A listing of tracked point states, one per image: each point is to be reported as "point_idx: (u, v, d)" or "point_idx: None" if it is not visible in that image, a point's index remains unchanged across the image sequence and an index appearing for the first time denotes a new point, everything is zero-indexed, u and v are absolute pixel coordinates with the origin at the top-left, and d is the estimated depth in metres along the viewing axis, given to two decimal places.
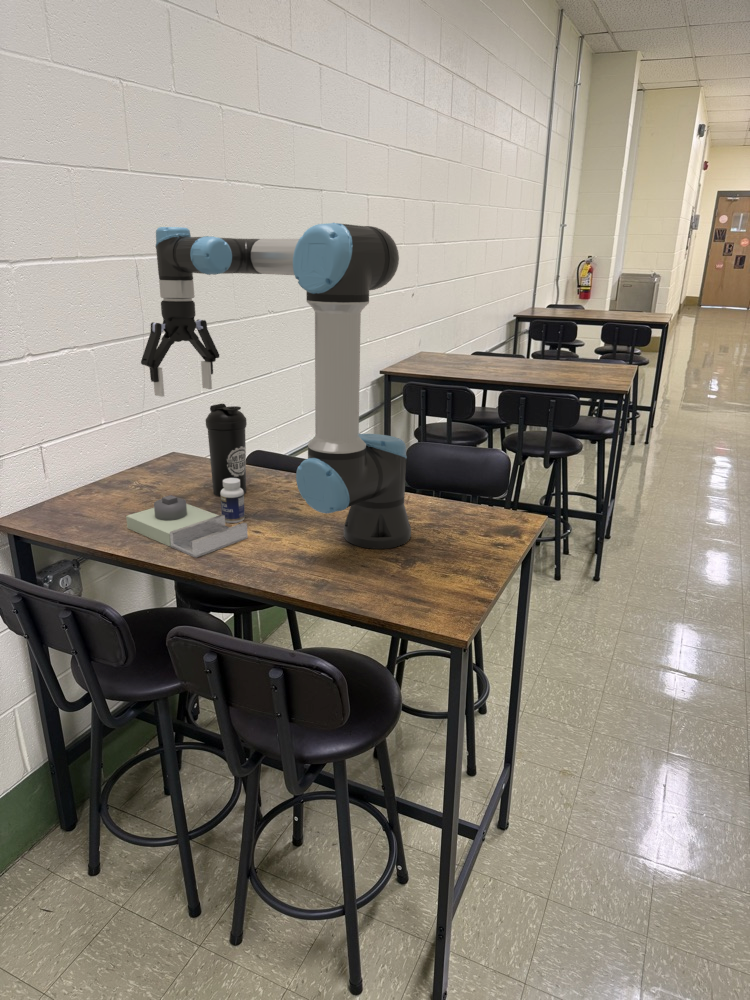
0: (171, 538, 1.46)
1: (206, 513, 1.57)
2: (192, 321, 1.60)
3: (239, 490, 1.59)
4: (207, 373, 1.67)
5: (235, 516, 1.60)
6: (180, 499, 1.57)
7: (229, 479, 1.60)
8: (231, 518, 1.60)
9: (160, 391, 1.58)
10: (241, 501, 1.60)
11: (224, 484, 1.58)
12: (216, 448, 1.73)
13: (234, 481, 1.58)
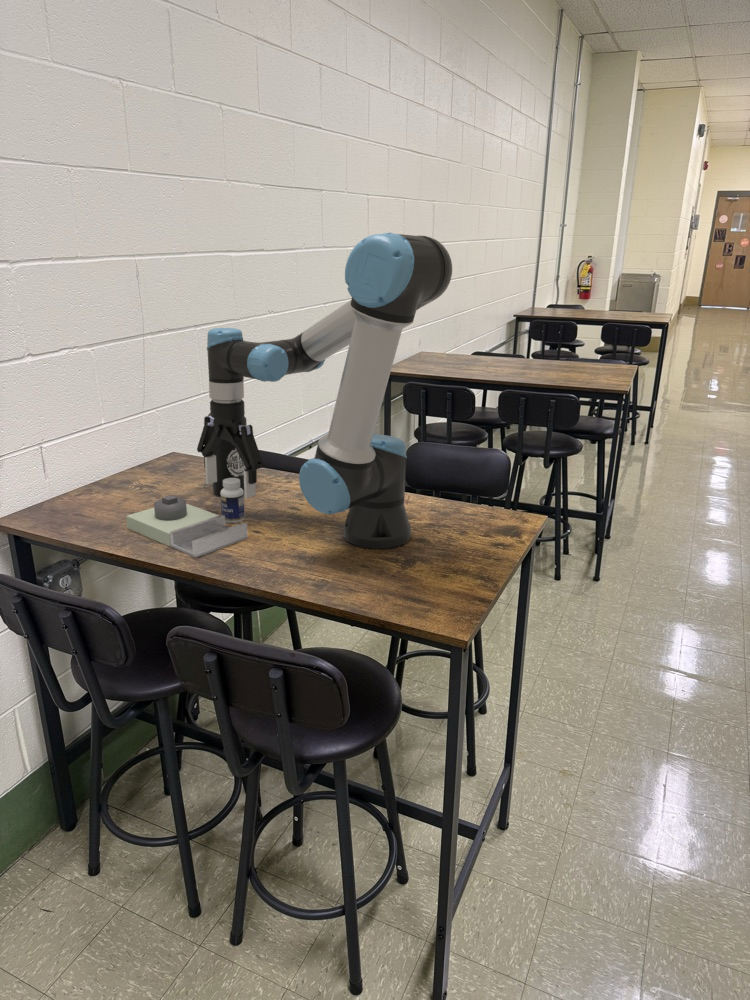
0: (171, 538, 1.46)
1: (206, 513, 1.57)
2: (232, 424, 1.52)
3: (239, 490, 1.59)
4: None
5: (235, 516, 1.60)
6: (180, 499, 1.57)
7: (229, 479, 1.60)
8: (231, 518, 1.60)
9: None
10: (241, 501, 1.60)
11: (224, 484, 1.58)
12: None
13: (234, 481, 1.58)
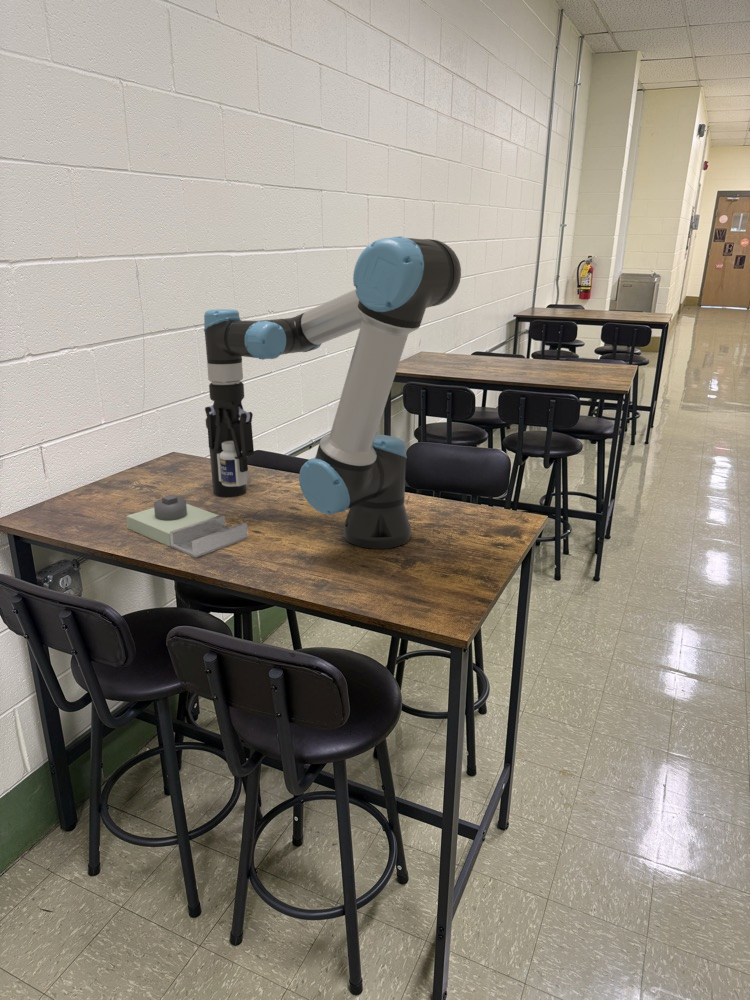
0: (171, 538, 1.46)
1: (206, 513, 1.57)
2: (233, 406, 1.51)
3: None
4: None
5: (235, 480, 1.56)
6: (180, 499, 1.57)
7: (228, 441, 1.57)
8: (231, 482, 1.56)
9: None
10: None
11: (223, 446, 1.55)
12: None
13: (233, 443, 1.55)
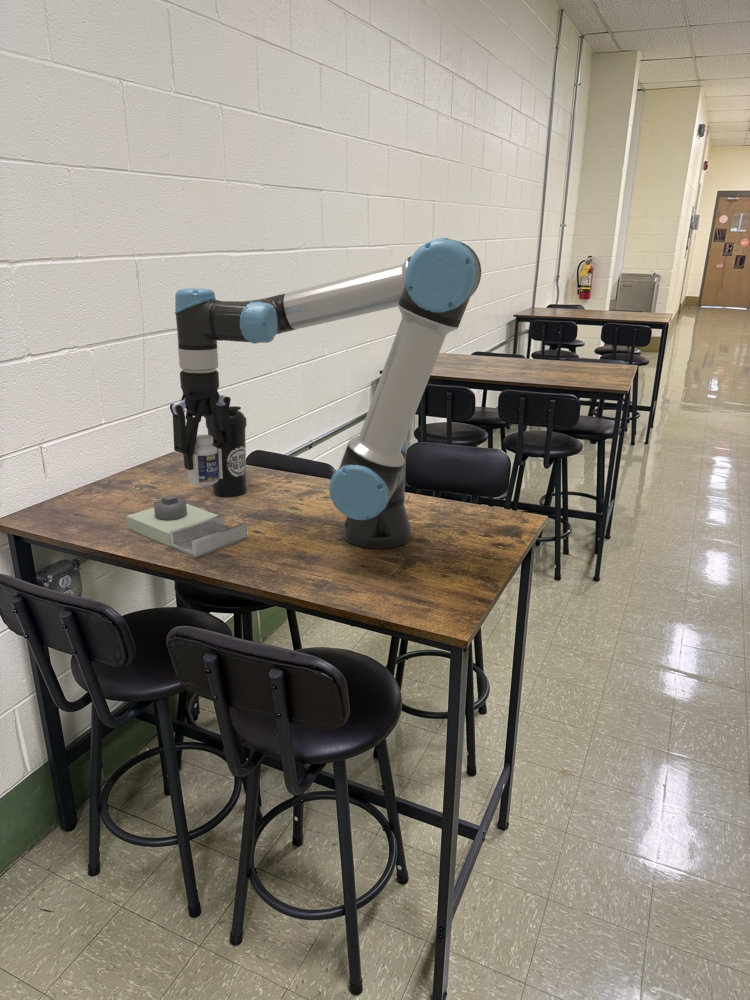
0: (171, 538, 1.46)
1: (206, 513, 1.57)
2: (216, 392, 1.40)
3: None
4: None
5: None
6: (180, 499, 1.57)
7: (197, 437, 1.41)
8: None
9: (195, 479, 1.41)
10: None
11: (208, 441, 1.40)
12: None
13: (208, 436, 1.42)
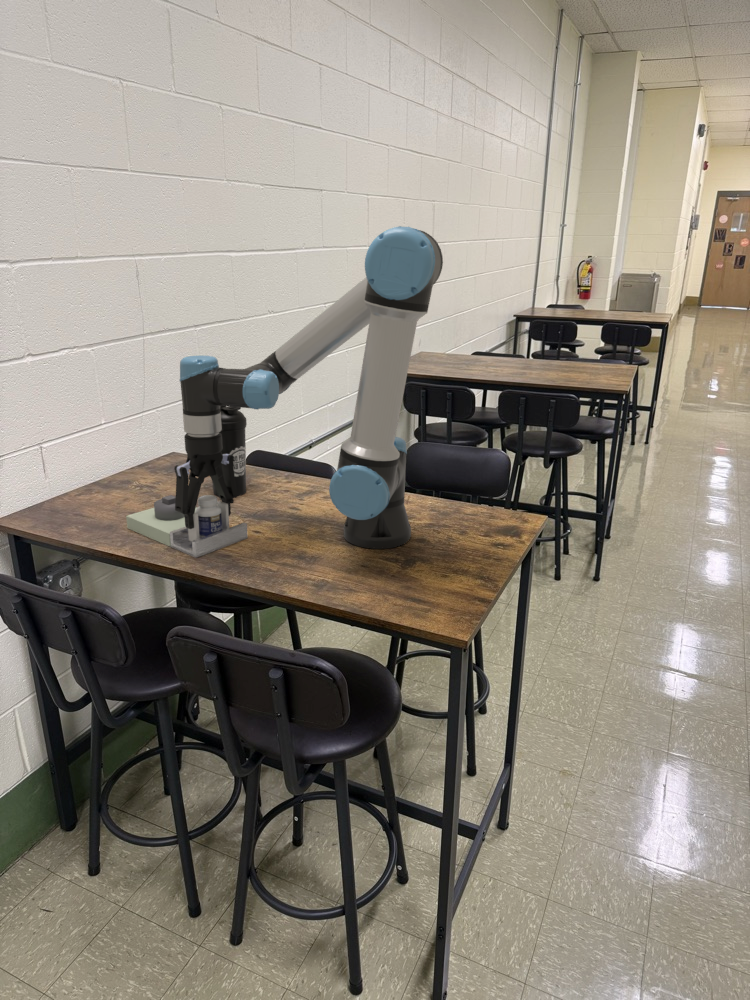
0: (171, 538, 1.46)
1: None
2: (220, 453, 1.44)
3: None
4: (224, 516, 1.50)
5: None
6: None
7: (202, 498, 1.45)
8: None
9: (195, 537, 1.45)
10: None
11: (213, 502, 1.45)
12: None
13: (212, 496, 1.47)
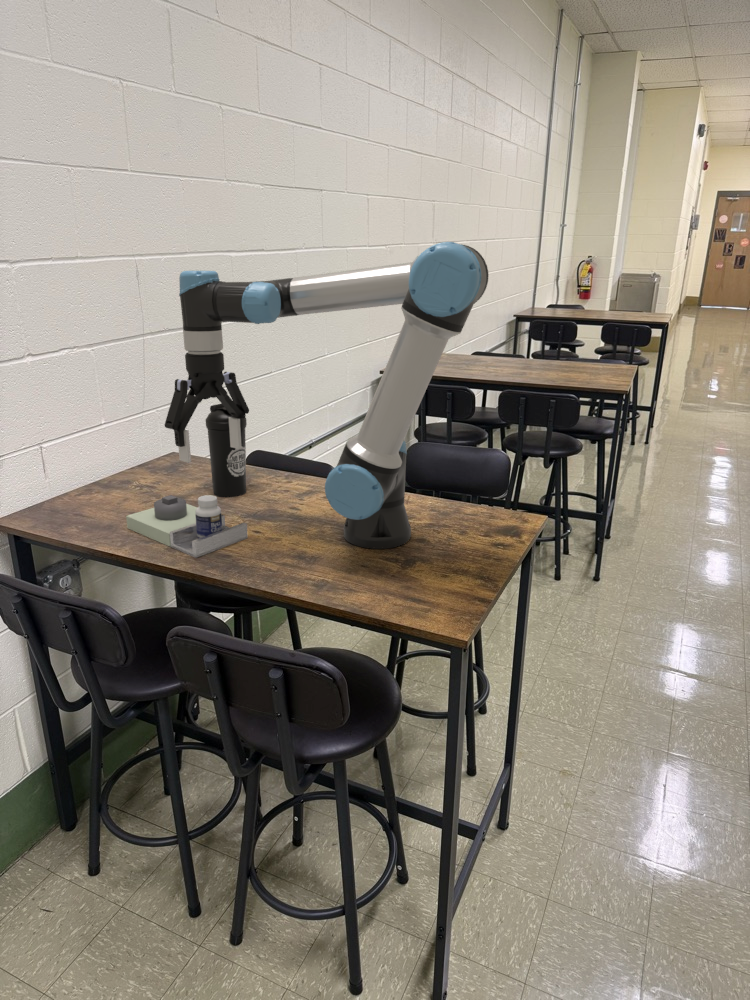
0: (171, 538, 1.46)
1: None
2: (220, 375, 1.41)
3: None
4: (236, 431, 1.47)
5: None
6: (180, 499, 1.57)
7: (202, 498, 1.45)
8: None
9: (186, 456, 1.38)
10: None
11: (213, 502, 1.45)
12: (216, 448, 1.73)
13: (212, 496, 1.47)
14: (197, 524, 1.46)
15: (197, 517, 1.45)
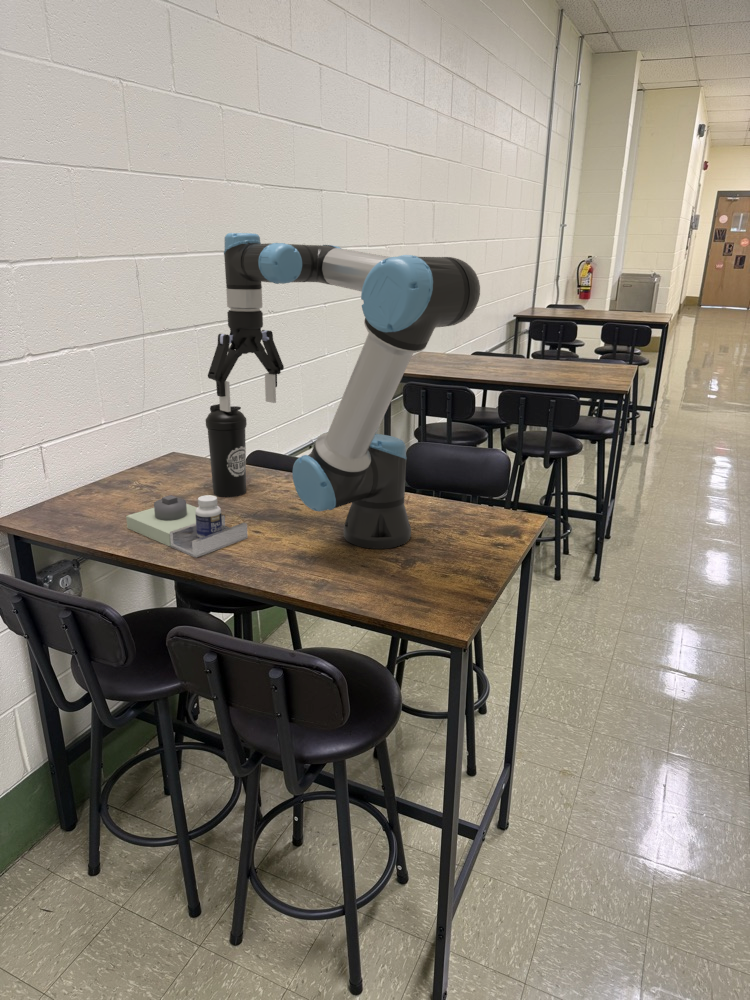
0: (171, 538, 1.46)
1: None
2: (259, 332, 1.52)
3: None
4: (271, 386, 1.59)
5: None
6: (180, 499, 1.57)
7: (202, 498, 1.45)
8: None
9: (226, 406, 1.50)
10: None
11: (213, 502, 1.45)
12: (216, 448, 1.73)
13: (212, 496, 1.47)
14: (197, 524, 1.46)
15: (197, 517, 1.45)
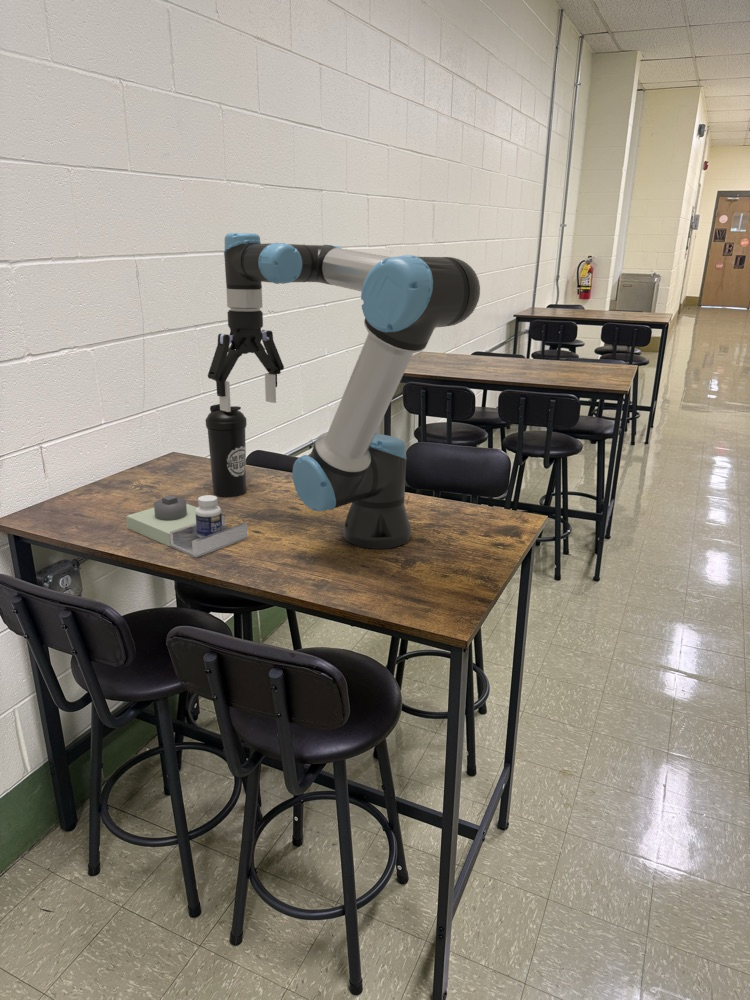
0: (171, 538, 1.46)
1: None
2: (259, 332, 1.52)
3: None
4: (272, 386, 1.59)
5: None
6: (180, 499, 1.57)
7: (202, 498, 1.45)
8: None
9: (226, 406, 1.50)
10: None
11: (213, 502, 1.45)
12: (216, 448, 1.73)
13: (213, 496, 1.47)
14: (197, 524, 1.46)
15: (197, 517, 1.45)
